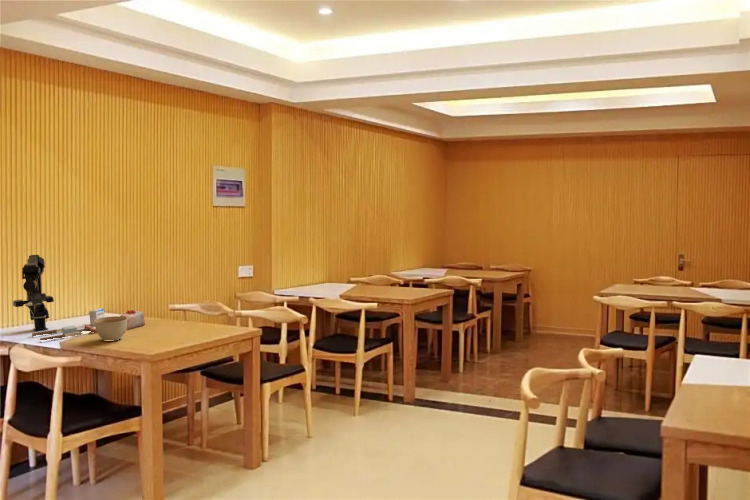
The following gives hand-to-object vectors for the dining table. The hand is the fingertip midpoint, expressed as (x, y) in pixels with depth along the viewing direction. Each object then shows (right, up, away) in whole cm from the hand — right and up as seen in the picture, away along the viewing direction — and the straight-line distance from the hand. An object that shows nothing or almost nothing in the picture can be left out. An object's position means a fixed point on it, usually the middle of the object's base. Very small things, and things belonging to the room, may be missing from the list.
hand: (34, 317), depth 372 cm
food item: (+45, -8, +19) cm, 49 cm away
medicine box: (+22, -7, +29) cm, 37 cm away
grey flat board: (+14, -10, +4) cm, 18 cm away
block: (+16, -10, +5) cm, 20 cm away
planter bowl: (+45, -11, -10) cm, 47 cm away
